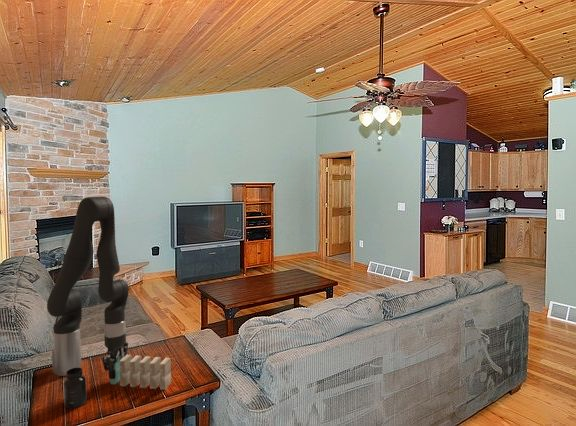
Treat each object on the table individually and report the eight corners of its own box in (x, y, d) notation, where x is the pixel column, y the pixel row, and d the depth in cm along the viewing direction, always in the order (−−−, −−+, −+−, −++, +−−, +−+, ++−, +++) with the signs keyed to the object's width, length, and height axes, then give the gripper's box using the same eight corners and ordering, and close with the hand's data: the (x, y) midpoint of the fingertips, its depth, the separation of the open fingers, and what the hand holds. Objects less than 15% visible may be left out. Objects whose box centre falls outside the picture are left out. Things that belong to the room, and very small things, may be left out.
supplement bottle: (70, 398, 134) (69, 365, 133) (90, 397, 134) (89, 365, 133) (60, 409, 127) (59, 376, 126) (81, 409, 128) (80, 375, 127)
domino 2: (120, 386, 142) (119, 360, 141) (127, 379, 147) (126, 354, 146) (125, 386, 142) (124, 361, 141) (132, 379, 147) (131, 355, 146)
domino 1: (110, 384, 143) (109, 358, 142) (117, 377, 147) (117, 352, 147) (115, 384, 142) (114, 359, 141) (122, 377, 147) (122, 353, 146)
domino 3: (130, 386, 142) (129, 361, 141) (136, 379, 146) (136, 355, 146) (135, 387, 141) (134, 361, 140) (141, 380, 146) (141, 355, 145)
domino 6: (160, 389, 140) (159, 363, 139) (166, 382, 145) (165, 357, 144) (165, 390, 140) (164, 364, 139) (171, 382, 145) (170, 358, 144)
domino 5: (150, 388, 141) (149, 363, 140) (156, 381, 146) (155, 356, 145) (155, 389, 140) (154, 363, 139) (161, 381, 145) (160, 357, 144)
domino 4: (140, 387, 141) (139, 362, 140) (146, 380, 146) (146, 356, 145) (145, 388, 141) (144, 362, 140) (151, 381, 146) (151, 356, 145)
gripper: (116, 324, 151) (117, 365, 152) (94, 339, 136) (95, 384, 138) (134, 325, 150) (135, 366, 151) (113, 341, 136) (114, 385, 137)
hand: (116, 374), depth 145 cm, fingers closed on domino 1, 4 cm apart
